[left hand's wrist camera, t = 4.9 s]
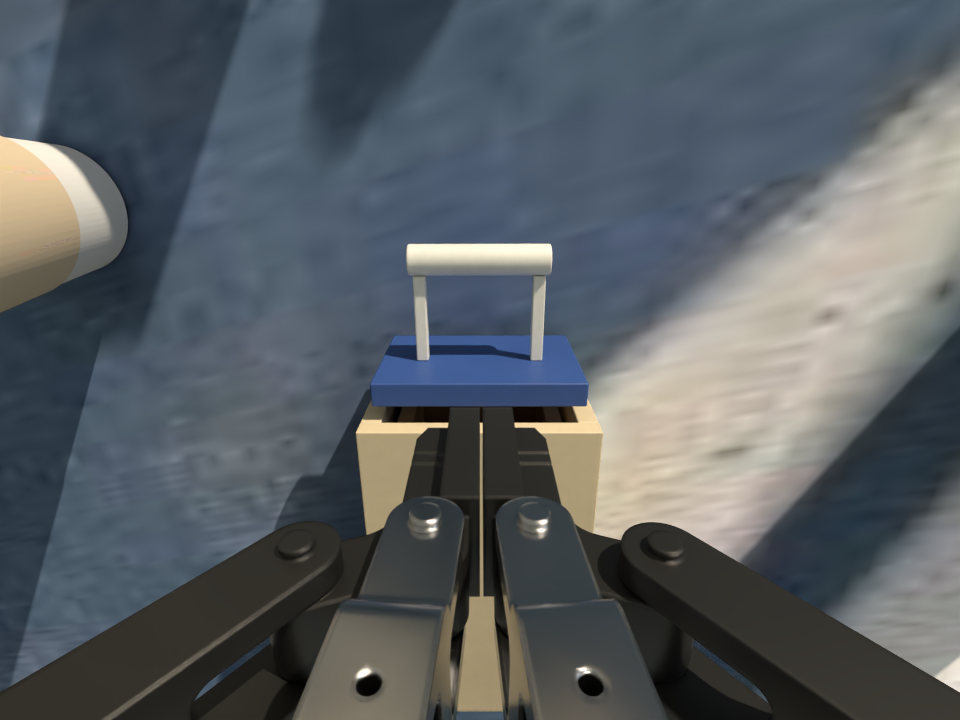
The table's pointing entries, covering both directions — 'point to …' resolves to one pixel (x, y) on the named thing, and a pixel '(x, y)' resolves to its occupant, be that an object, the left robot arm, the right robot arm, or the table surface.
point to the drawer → (479, 347)
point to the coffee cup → (53, 218)
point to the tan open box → (384, 486)
